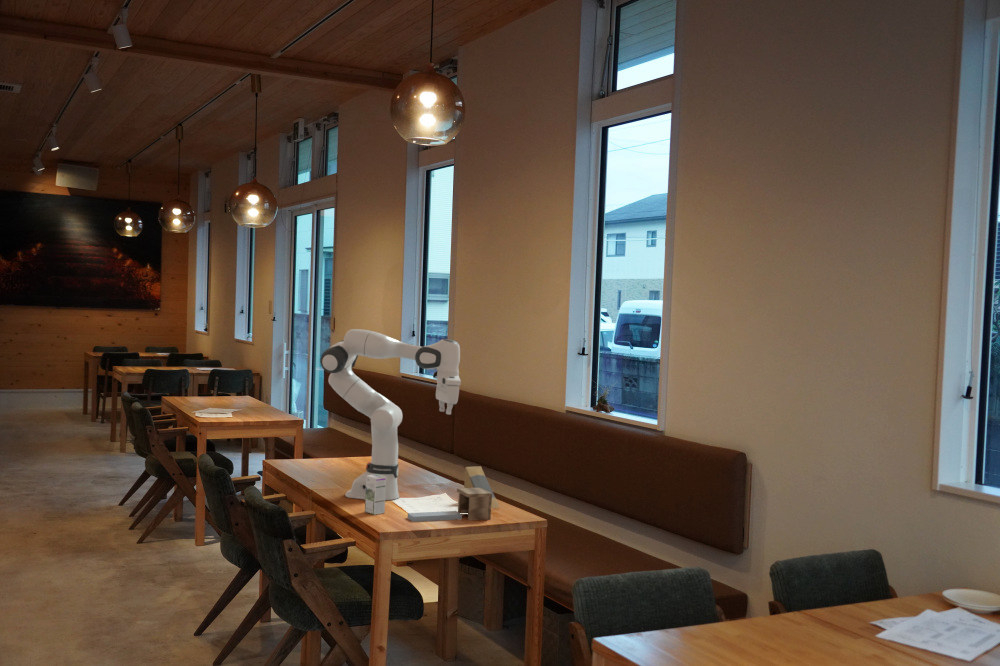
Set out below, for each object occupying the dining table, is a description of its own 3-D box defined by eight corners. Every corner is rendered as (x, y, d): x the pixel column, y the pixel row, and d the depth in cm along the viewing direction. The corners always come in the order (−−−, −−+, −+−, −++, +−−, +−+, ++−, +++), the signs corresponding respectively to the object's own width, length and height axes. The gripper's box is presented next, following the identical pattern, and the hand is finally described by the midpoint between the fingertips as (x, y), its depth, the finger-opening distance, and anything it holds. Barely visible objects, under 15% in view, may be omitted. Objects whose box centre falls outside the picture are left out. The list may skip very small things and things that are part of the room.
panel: (413, 523, 326) (413, 516, 326) (407, 519, 331) (407, 513, 331) (461, 520, 335) (461, 514, 335) (455, 516, 340) (455, 510, 340)
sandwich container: (484, 509, 355) (486, 473, 355) (462, 502, 367) (464, 466, 367) (501, 507, 360) (503, 471, 360) (478, 500, 372) (481, 465, 372)
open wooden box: (466, 520, 333) (468, 494, 333) (455, 514, 343) (456, 488, 343) (490, 519, 337) (492, 493, 337) (478, 512, 347) (480, 487, 347)
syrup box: (385, 513, 337) (387, 476, 337) (373, 515, 332) (375, 477, 332) (375, 510, 341) (377, 473, 340) (363, 512, 336) (365, 475, 336)
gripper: (433, 376, 362) (430, 409, 362) (447, 380, 343) (444, 415, 343) (447, 377, 364) (445, 410, 364) (462, 381, 345) (459, 416, 345)
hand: (445, 412), depth 353 cm, fingers open, 8 cm apart
